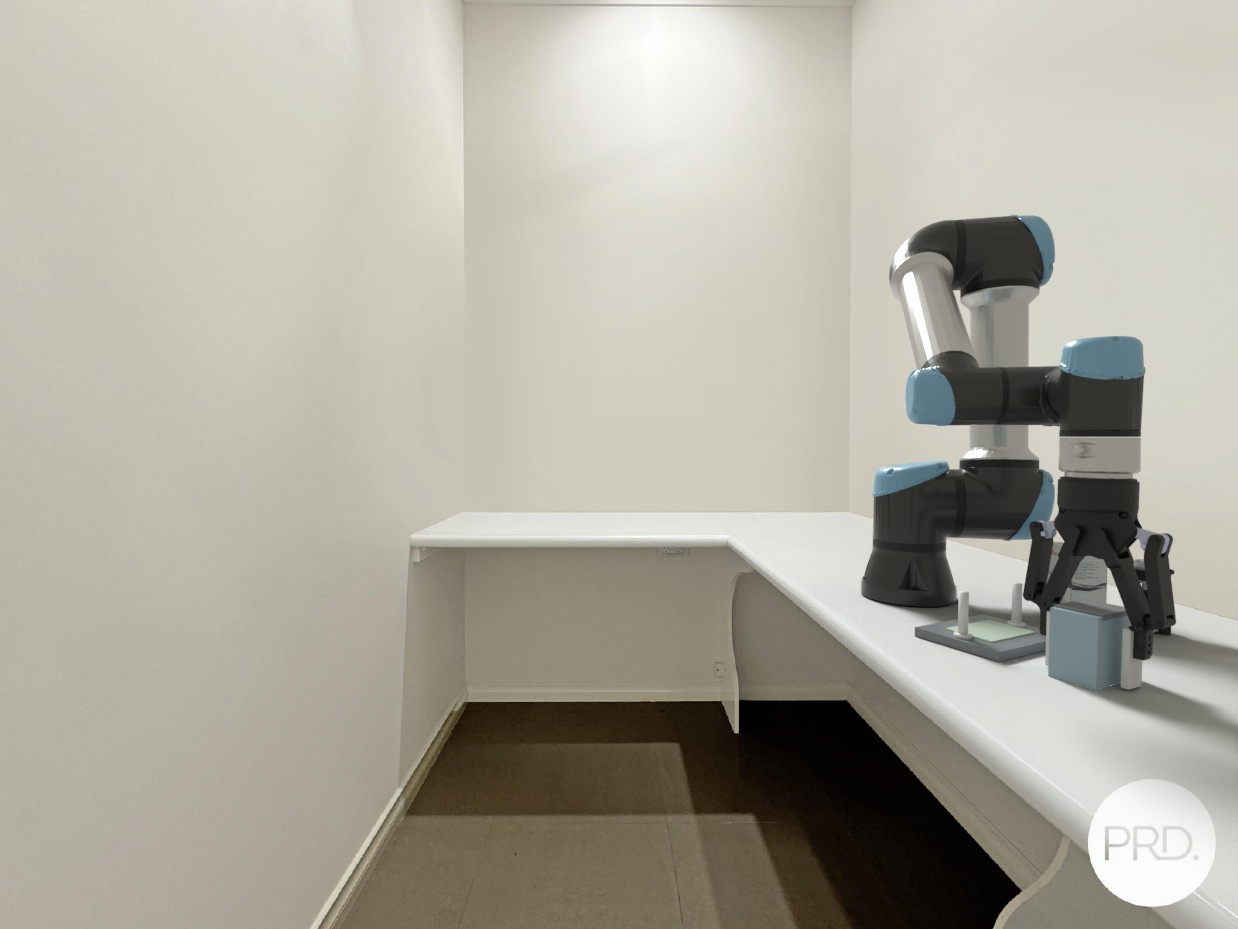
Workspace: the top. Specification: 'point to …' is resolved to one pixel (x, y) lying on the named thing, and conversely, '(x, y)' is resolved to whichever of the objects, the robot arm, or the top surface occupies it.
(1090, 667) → the block
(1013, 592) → the pin tray
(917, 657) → the top surface
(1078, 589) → the ink box
